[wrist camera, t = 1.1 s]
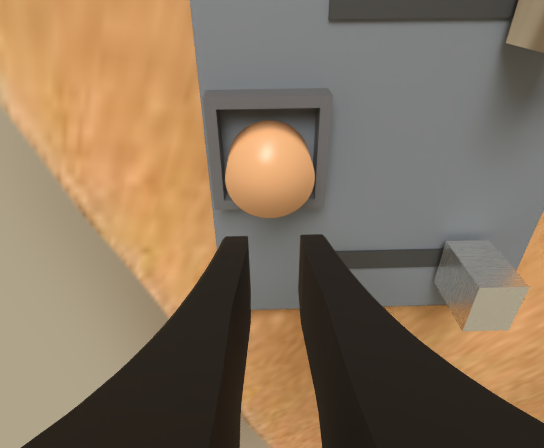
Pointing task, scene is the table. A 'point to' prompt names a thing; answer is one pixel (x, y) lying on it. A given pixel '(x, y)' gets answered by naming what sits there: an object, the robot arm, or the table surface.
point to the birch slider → (528, 25)
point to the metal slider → (479, 285)
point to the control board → (377, 133)
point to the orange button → (269, 170)
